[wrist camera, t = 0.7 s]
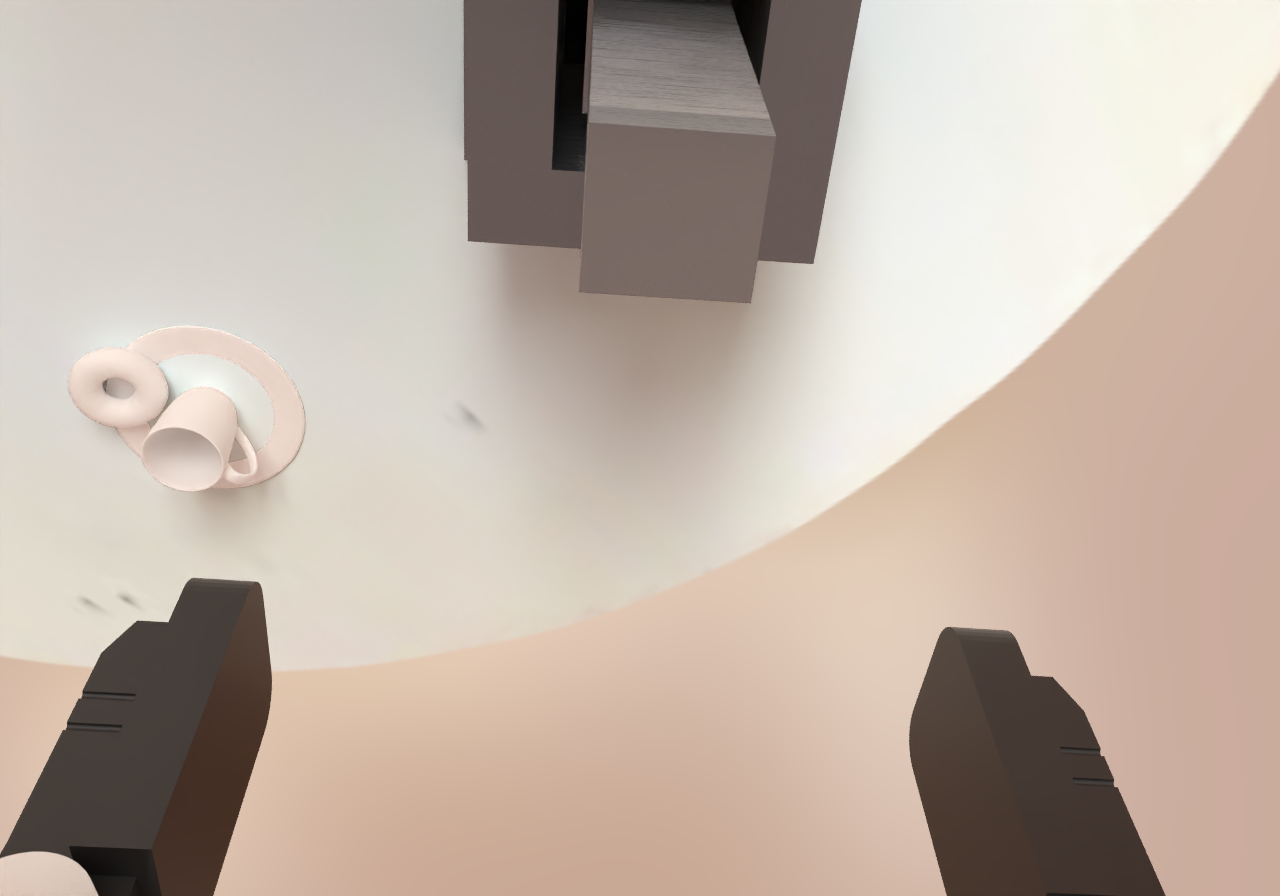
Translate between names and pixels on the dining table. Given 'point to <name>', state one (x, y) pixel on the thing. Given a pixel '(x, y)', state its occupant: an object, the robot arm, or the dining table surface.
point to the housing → (556, 127)
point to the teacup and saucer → (188, 409)
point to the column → (672, 152)
